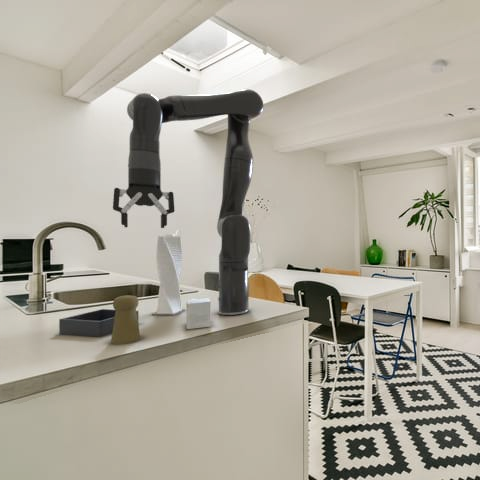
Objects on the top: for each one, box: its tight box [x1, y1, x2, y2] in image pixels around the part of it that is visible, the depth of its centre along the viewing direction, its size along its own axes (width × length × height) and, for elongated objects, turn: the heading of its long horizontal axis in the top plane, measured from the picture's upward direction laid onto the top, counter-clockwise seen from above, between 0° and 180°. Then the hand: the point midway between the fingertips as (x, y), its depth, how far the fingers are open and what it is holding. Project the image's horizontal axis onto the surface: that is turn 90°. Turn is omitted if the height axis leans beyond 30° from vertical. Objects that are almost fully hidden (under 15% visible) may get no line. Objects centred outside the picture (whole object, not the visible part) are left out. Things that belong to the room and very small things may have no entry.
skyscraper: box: [151, 228, 186, 316], centre depth 110 cm, size 8×8×28 cm
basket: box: [58, 308, 140, 338], centre depth 92 cm, size 12×12×4 cm
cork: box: [110, 294, 141, 345], centre depth 82 cm, size 6×6×11 cm
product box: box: [185, 297, 212, 330], centre depth 96 cm, size 6×6×7 cm
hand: (144, 227), depth 92 cm, fingers open, 8 cm apart
